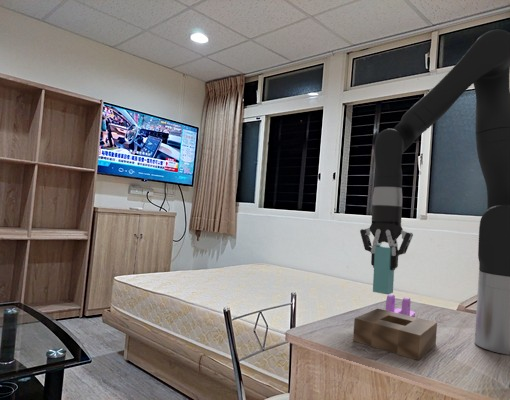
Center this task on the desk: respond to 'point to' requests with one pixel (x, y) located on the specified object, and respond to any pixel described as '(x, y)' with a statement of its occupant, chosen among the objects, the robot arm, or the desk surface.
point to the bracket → (404, 310)
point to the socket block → (395, 333)
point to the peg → (383, 271)
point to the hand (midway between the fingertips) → (383, 268)
